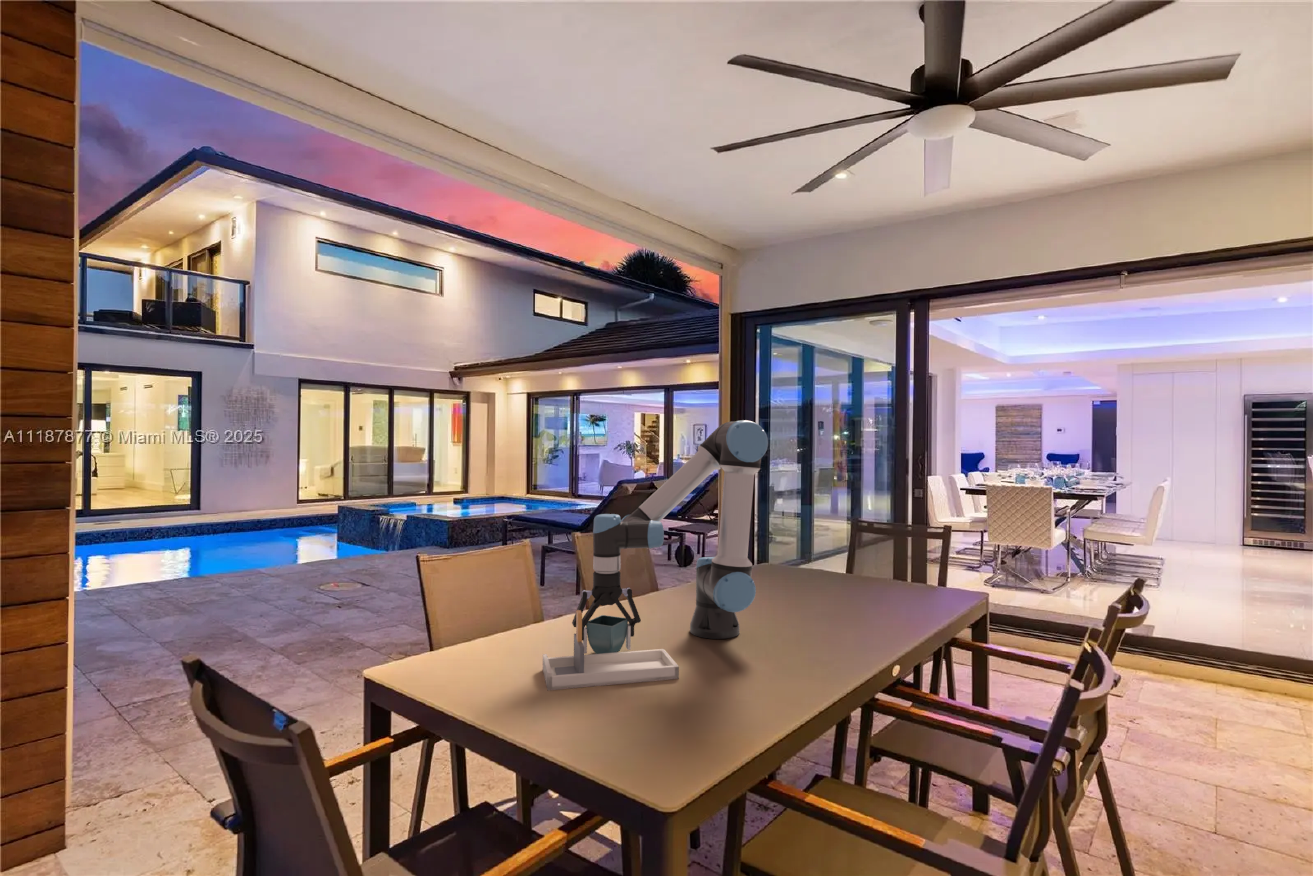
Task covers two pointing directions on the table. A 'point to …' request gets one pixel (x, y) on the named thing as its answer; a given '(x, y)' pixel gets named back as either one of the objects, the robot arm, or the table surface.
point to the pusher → (575, 651)
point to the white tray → (611, 669)
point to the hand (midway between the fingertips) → (606, 650)
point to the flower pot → (606, 633)
